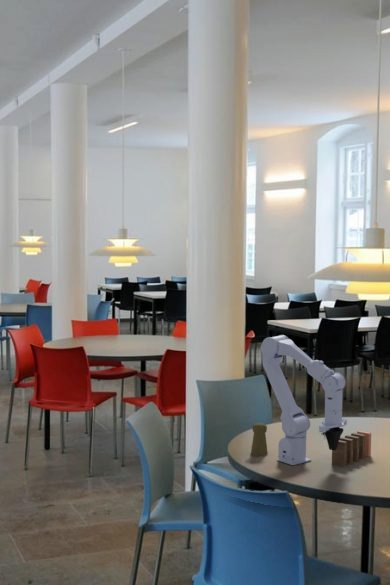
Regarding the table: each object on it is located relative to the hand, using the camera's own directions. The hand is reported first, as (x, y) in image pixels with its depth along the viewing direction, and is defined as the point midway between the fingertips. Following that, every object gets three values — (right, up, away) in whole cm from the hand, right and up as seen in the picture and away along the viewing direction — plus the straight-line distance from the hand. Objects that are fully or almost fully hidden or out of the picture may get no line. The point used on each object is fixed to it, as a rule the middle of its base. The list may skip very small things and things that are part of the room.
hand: (332, 449), depth 277 cm
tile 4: (+11, -5, +13) cm, 18 cm away
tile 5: (+14, -5, +17) cm, 22 cm away
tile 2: (+6, -6, +7) cm, 11 cm away
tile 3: (+8, -6, +10) cm, 14 cm away
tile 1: (+3, -6, +4) cm, 8 cm away
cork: (-23, -5, +17) cm, 30 cm away
